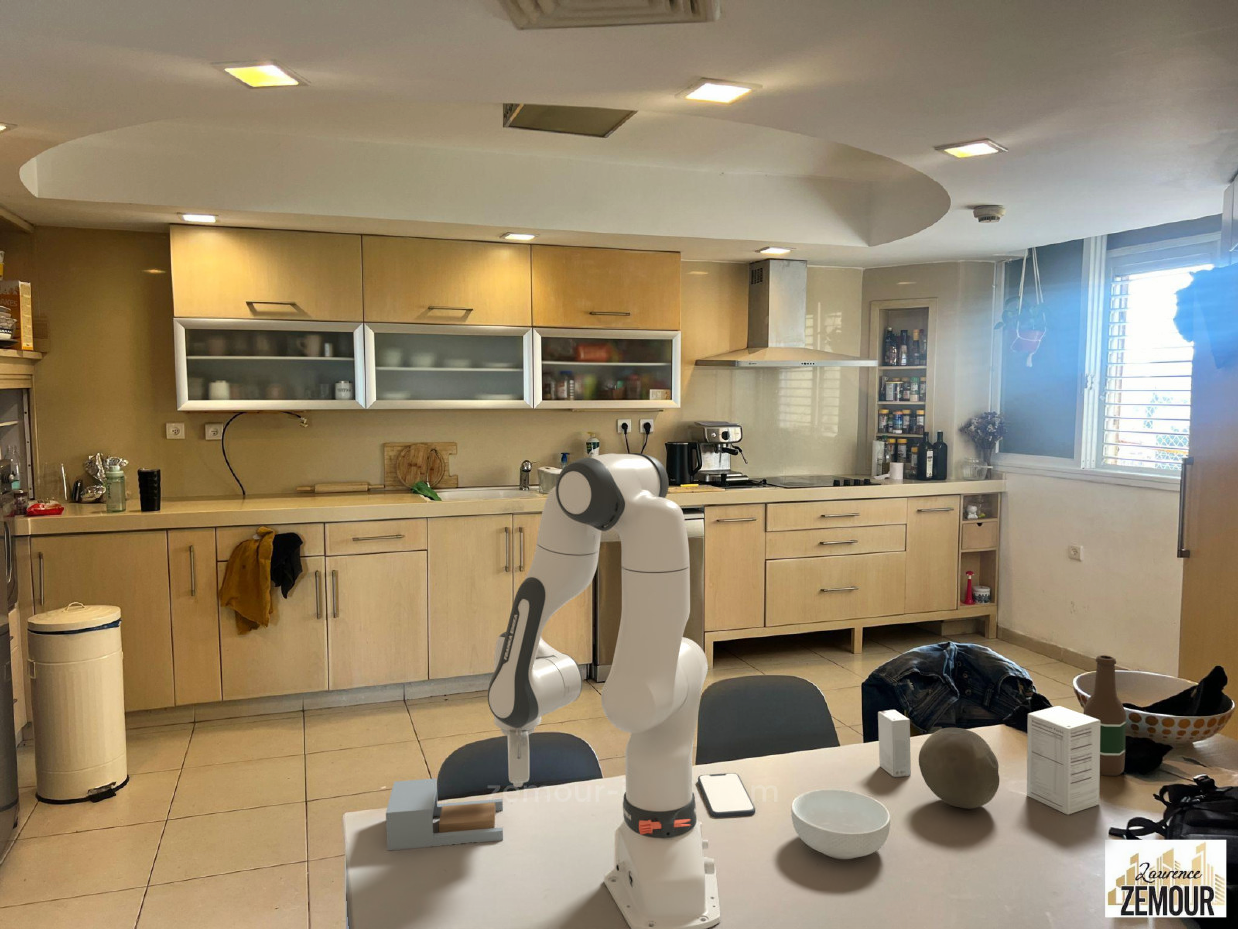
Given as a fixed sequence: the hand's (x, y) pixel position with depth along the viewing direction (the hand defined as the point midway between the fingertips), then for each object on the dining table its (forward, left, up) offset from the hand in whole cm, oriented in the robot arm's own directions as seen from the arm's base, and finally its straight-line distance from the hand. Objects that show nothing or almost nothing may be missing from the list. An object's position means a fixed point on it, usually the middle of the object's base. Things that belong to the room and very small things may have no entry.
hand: (517, 783), depth 163 cm
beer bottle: (0, -122, -8) cm, 122 cm away
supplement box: (-11, -105, -8) cm, 106 cm away
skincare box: (+7, -79, -8) cm, 80 cm away
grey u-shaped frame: (-1, +13, -7) cm, 15 cm away
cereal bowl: (-20, -56, -8) cm, 60 cm away
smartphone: (+2, -41, -8) cm, 42 cm away
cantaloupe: (-10, -84, -8) cm, 85 cm away
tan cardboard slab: (-1, +10, -8) cm, 12 cm away
